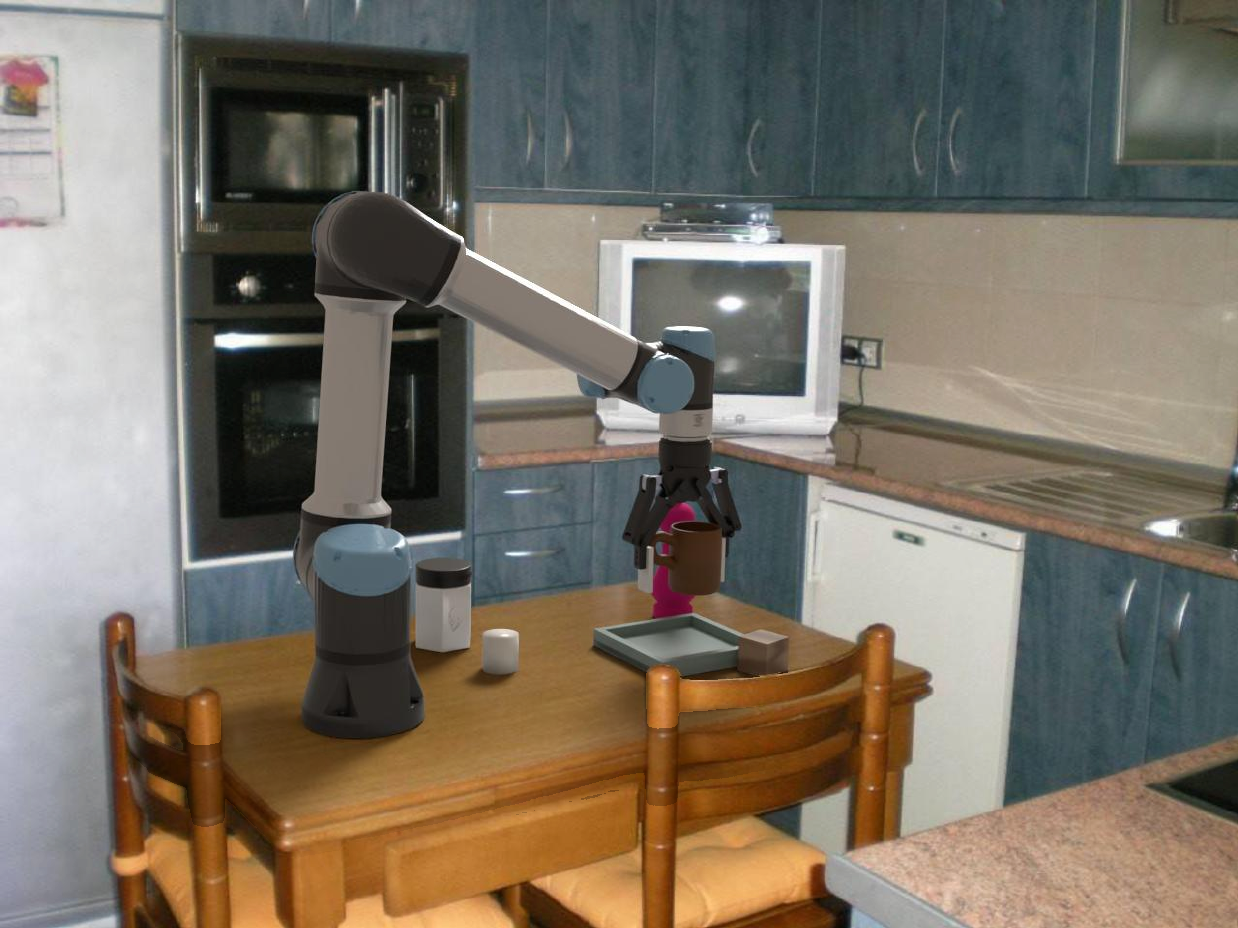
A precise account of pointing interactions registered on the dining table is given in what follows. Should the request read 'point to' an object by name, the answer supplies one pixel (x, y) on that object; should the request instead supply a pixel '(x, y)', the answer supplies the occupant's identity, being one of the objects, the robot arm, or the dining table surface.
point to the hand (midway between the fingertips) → (681, 585)
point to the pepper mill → (665, 597)
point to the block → (763, 653)
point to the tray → (672, 643)
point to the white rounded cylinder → (500, 651)
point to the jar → (443, 604)
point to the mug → (691, 557)
